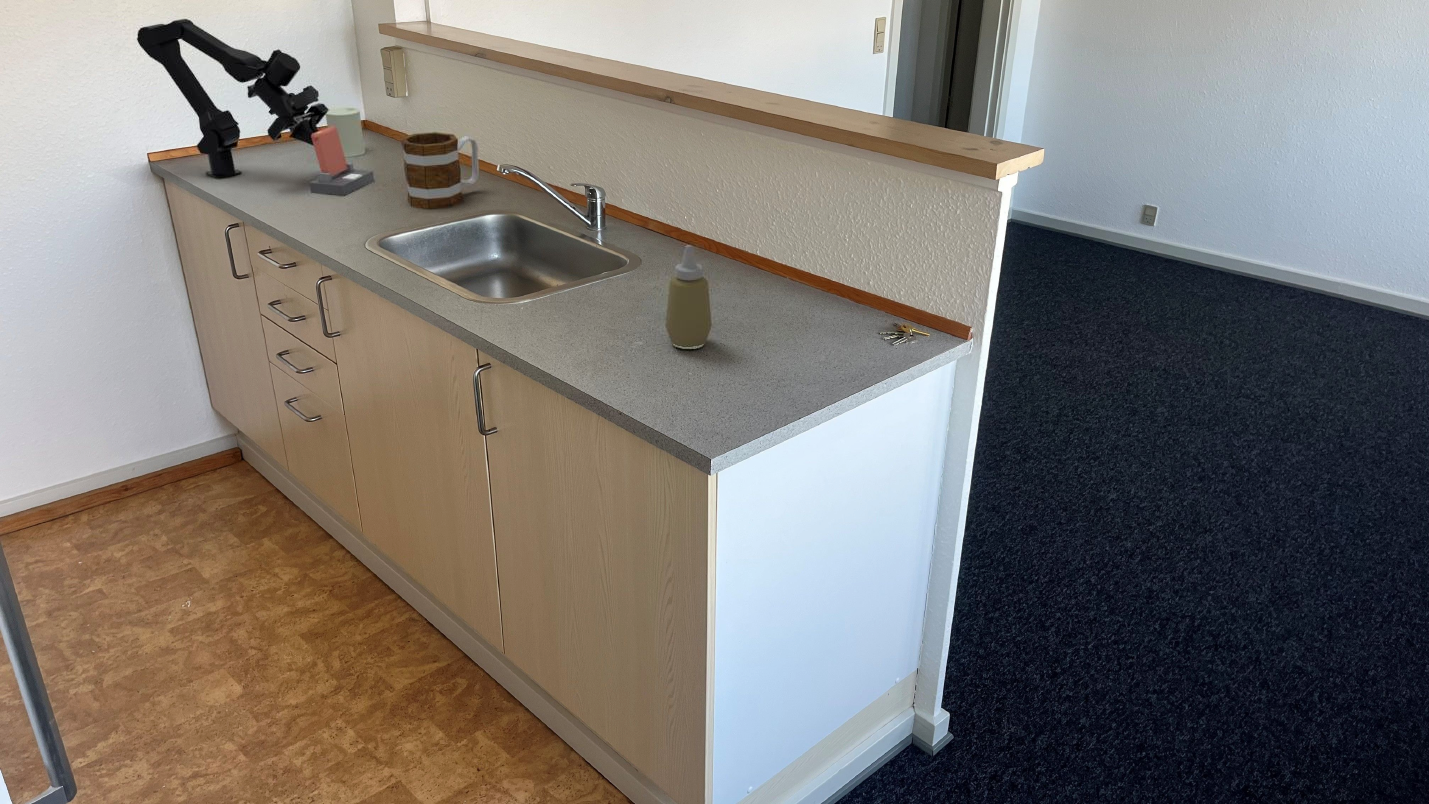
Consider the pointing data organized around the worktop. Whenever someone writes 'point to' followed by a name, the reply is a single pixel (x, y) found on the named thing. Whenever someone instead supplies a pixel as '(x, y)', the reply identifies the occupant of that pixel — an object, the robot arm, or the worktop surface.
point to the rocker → (329, 151)
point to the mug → (436, 169)
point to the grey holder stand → (341, 181)
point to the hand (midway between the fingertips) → (323, 147)
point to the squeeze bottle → (688, 303)
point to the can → (347, 129)
